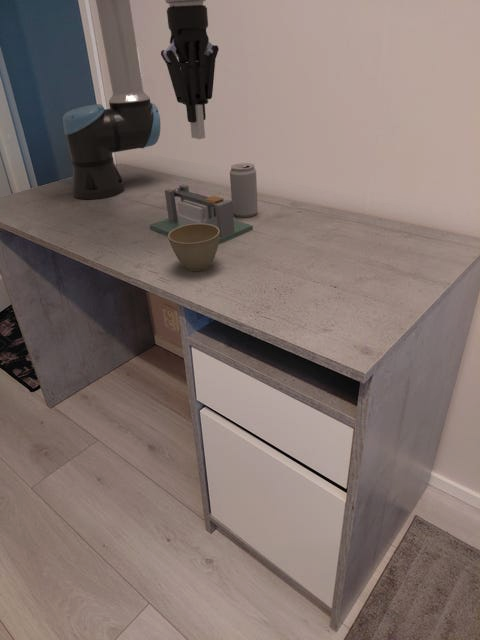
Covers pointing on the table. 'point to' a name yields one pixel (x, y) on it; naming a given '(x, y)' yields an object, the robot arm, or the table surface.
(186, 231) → the flower pot
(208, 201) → the grey long bar
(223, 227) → the board
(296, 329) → the table surface
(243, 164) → the beverage can
